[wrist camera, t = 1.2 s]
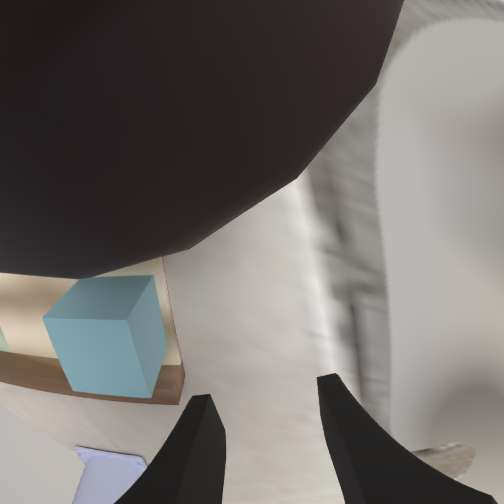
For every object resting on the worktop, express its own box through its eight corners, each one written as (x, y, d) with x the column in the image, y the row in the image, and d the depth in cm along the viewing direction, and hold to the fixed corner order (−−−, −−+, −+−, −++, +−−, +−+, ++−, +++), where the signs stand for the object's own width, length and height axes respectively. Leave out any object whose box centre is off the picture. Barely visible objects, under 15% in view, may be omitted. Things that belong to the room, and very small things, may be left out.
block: (168, 344, 20) (151, 398, 15) (100, 343, 20) (72, 390, 15) (153, 274, 18) (126, 320, 14) (81, 277, 18) (42, 317, 14)
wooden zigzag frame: (185, 378, 22) (179, 407, 19) (-23, 355, 22) (-38, 372, 19) (143, 56, 15) (125, 42, 12) (-79, 142, 15) (-102, 147, 12)
